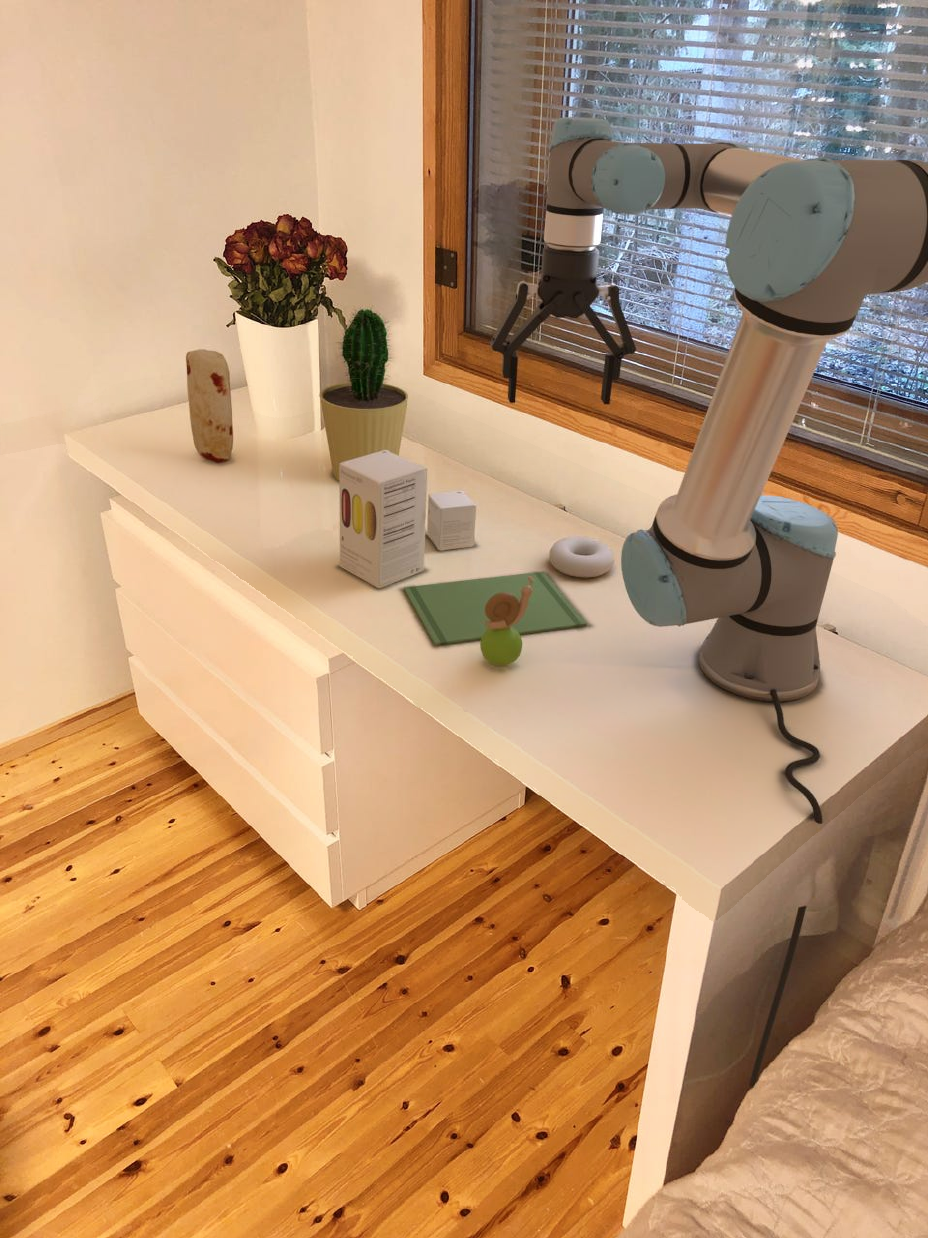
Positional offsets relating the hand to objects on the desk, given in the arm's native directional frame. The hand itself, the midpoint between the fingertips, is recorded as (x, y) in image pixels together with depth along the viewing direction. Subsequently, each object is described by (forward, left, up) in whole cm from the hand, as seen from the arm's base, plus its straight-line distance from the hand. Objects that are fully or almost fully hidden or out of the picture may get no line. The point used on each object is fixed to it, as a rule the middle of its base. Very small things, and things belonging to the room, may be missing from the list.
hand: (558, 401), depth 149 cm
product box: (+10, +12, -26) cm, 30 cm away
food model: (+53, +44, -26) cm, 73 cm away
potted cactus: (+40, +19, -26) cm, 51 cm away
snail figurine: (-26, +16, -26) cm, 40 cm away
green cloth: (-12, +13, -26) cm, 31 cm away
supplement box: (+3, +25, -26) cm, 36 cm away
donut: (-3, -5, -26) cm, 26 cm away
